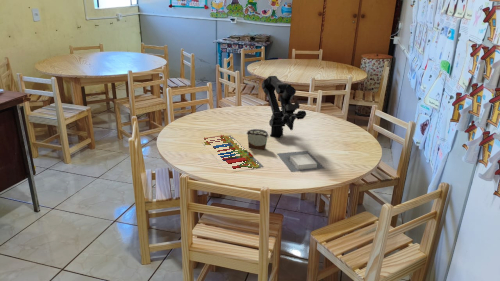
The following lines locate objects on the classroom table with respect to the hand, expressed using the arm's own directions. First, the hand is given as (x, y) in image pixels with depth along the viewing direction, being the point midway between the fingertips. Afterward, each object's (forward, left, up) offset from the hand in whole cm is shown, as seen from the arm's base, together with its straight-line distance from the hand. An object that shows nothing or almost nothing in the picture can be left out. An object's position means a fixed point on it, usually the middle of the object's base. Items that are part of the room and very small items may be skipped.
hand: (291, 129), depth 194 cm
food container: (-18, -3, -12) cm, 22 cm away
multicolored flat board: (-30, -15, -13) cm, 36 cm away
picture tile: (+7, -10, -11) cm, 16 cm away
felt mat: (+8, -12, -12) cm, 18 cm away
